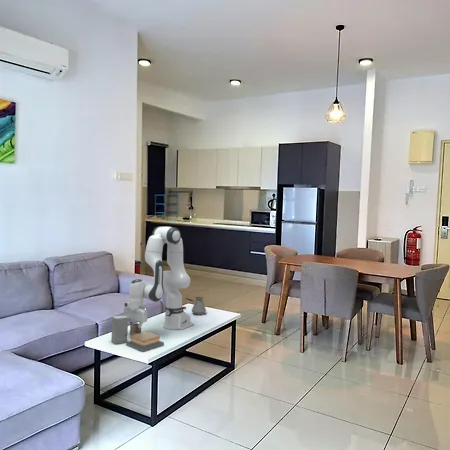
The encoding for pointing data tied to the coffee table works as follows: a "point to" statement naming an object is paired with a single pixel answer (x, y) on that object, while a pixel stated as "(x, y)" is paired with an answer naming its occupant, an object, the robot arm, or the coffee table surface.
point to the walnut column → (134, 329)
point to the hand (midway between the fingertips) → (134, 326)
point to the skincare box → (119, 329)
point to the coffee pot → (198, 306)
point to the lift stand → (144, 341)
